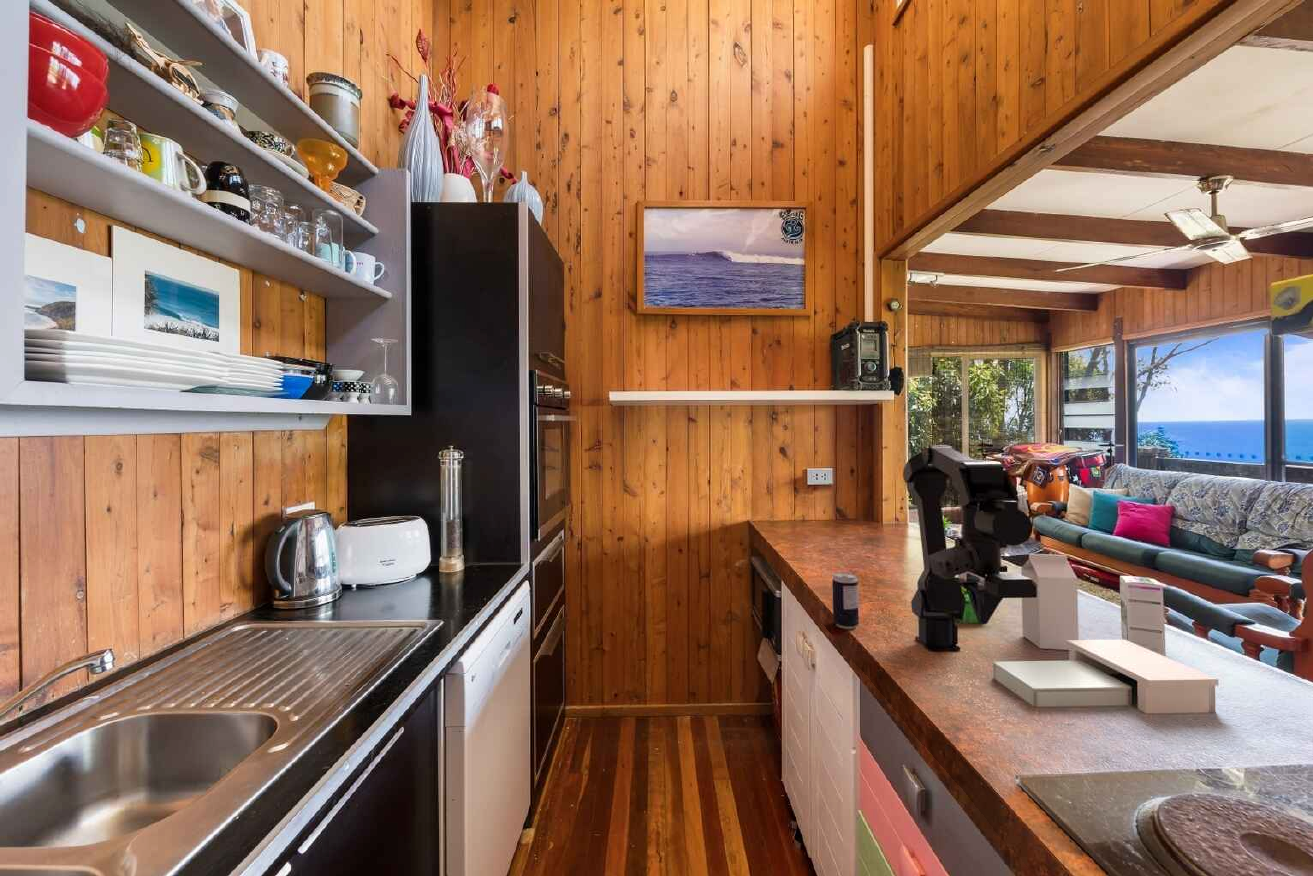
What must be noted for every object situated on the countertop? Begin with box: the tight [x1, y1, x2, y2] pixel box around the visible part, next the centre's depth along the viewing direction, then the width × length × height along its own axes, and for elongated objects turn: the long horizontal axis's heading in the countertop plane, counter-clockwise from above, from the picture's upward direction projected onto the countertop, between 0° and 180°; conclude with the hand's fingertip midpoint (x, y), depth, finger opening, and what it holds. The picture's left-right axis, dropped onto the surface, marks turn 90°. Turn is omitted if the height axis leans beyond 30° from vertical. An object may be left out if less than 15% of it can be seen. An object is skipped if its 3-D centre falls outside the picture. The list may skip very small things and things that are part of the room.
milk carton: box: [1020, 553, 1079, 651], centre depth 108 cm, size 7×7×19 cm
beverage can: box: [831, 571, 860, 630], centre depth 120 cm, size 6×6×12 cm
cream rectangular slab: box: [992, 660, 1133, 708], centre depth 88 cm, size 16×10×3 cm, turn 90°
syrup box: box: [1119, 575, 1167, 657], centre depth 104 cm, size 6×6×14 cm
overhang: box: [1067, 638, 1219, 714], centre depth 88 cm, size 11×16×6 cm
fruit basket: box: [955, 575, 979, 624], centre depth 125 cm, size 11×9×11 cm
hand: (982, 623), depth 88 cm, fingers closed
